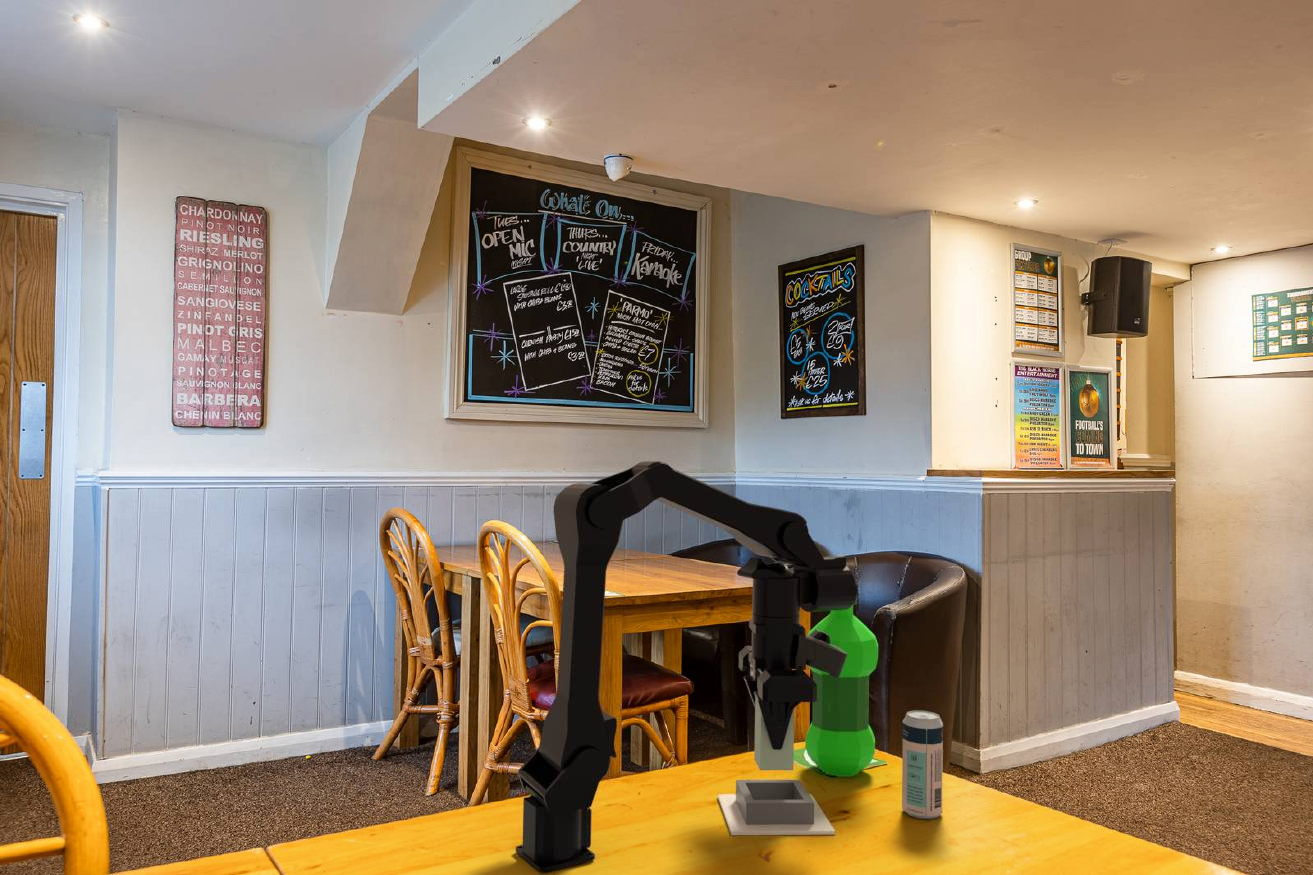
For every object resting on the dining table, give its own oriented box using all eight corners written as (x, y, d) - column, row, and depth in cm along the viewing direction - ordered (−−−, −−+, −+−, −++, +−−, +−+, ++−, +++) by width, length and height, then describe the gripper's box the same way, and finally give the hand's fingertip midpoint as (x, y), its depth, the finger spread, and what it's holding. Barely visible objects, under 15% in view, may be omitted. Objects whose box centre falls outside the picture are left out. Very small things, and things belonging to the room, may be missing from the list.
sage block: (793, 770, 110) (794, 702, 111) (760, 770, 110) (761, 702, 110) (786, 759, 114) (787, 694, 115) (754, 759, 114) (755, 694, 114)
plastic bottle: (787, 768, 130) (789, 588, 131) (835, 754, 137) (837, 583, 137) (844, 788, 122) (846, 597, 123) (892, 772, 129) (894, 591, 130)
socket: (835, 834, 107) (835, 808, 107) (731, 835, 106) (731, 809, 106) (811, 797, 119) (811, 774, 119) (717, 797, 118) (718, 774, 118)
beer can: (938, 807, 116) (938, 710, 116) (946, 822, 111) (947, 720, 111) (898, 805, 116) (899, 708, 117) (905, 820, 111) (906, 719, 112)
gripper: (862, 628, 104) (861, 769, 104) (822, 603, 123) (821, 723, 122) (764, 627, 103) (762, 769, 103) (739, 602, 122) (737, 722, 122)
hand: (773, 743), depth 112 cm, fingers closed on sage block, 4 cm apart
